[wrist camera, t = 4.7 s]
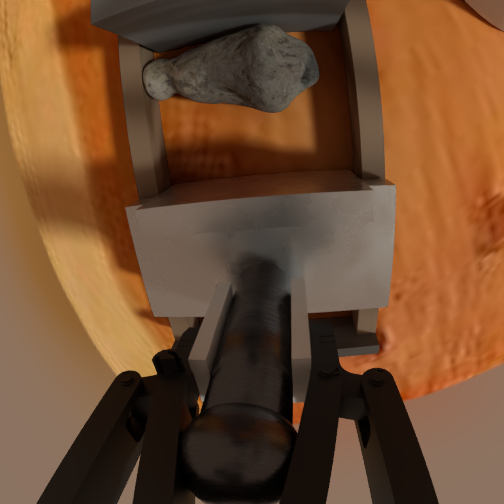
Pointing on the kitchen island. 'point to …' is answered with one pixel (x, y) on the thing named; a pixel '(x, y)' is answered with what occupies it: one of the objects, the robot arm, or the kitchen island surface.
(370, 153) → the grey rectangular frame
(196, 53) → the stone
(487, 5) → the vase
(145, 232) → the ram
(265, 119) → the kitchen island surface
